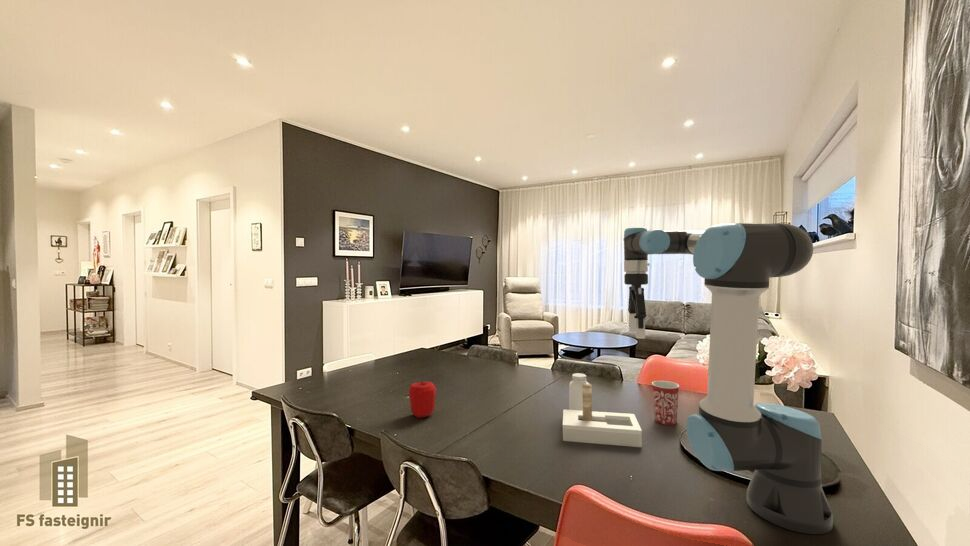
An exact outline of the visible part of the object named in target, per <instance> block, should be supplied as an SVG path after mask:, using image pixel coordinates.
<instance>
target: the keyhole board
mask: <svg viewBox="0 0 970 546" xmlns="http://www.w3.org/2000/svg"><path fill="white" fill-rule="evenodd" d="M562 415H563V416H562V441H563V442H572V443H573V442H574V443H583V444H584V443H586V444H595V445H596V444H597V445H609V446H610V445H611V446H619V447H620V446H623V447H633V448H643V435H642V433H643V430H642V428H641V426H640V424H639V421H638V419H637V417H636V415H635V413H624V412H623V413H622V412H612V411H611V412H608V411H593V410H592V421H583V411H580V410H569V409H565V408H564V409H563V412H562Z"/></svg>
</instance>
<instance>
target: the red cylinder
mask: <svg viewBox="0 0 970 546" xmlns="http://www.w3.org/2000/svg"><path fill="white" fill-rule="evenodd" d="M436 387H437V386H435V385H434V383H433V382H432V381H426V380H425V381H418V382H413V383H411V385H410V386H409V388H408V397H409V403H410V412H411V413H412V414H413V415H414V417H416V418H418V419H419V418H422V419H424V418H425V417H429V416H430V415H431V414H432V413H433V412H434V410H435V404H436V396H437V389H436Z"/></svg>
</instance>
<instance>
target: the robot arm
mask: <svg viewBox="0 0 970 546" xmlns="http://www.w3.org/2000/svg"><path fill="white" fill-rule="evenodd" d="M623 251H624V252H623V258H624V259H623V272H625V273H624V275H623V276H624V277H623V278H624V284H625V285H627V286H629V285H630V286H629V289H628V292H629V293H628V307H627V311H628V321H629V322H628V325H629V326H628V329H629V331H628V332H630V333H635V338H636V339H638V340H639V339H643V340H644V339H646V317H647V311H646V302H645V301H646V300H645V288H644V287H642V286H643V285H648V284H649V275H648V273H647V272H648V271H649V268H648V267H649V266H650V263H649V258H648V257H649V255H692V263H693V264H692V265H693V267H694V268H695V269H694V270H695V273H697V275H698V276H699V277H701V278H703V279H704V283H703V285H704V287H706V288H707V289H708V290H709V292H711V304H710V305H711V308H710V325H709V326H710V328H709V329H710V330H709V331H710V333H709V352H708V372H707V373H708V374H707V395H706V396H705V397H704V398H701V400H699V403H698V404H699V405H698V413H693V414H690V416H689V417H688V418H687V420H686V425H685V426H686V434H687V439H688V441H689V444H690V446H691V449H692V451H693V452H694V455H695V456H696V457H697V459H698V461H700V463H702V465H704V466H705V467H706V468H707V469H709V470H711V471H716V472H728V473H732V472H738V471H739V472H740V471H753V474H752V477H751V479H750V481H749V484H748V487H747V488H746V503H747V505H748V507H749V508H750V510H752V511H753V512H754V513H755V514H756V515H757V516H759V517H760V518H762V519H764V520H765V521H768V522H769V523H771V524H774V525H776V526H778V527H780V528H784V529H785V530H789V531H793V532H797V533H800V534H806V535H809V534H810V535H823V534H827V533H829V532H831V531H832V530H833V528H834V526H833V525H834V522H833V521H834V517H833V513H832V510H831V508H830V504H829V503H828V499H827V497H826V494H825V492H824V490H823V487H822V440H823V437H822V433H821V424H820V422H819V420H818V419H817V418H816V417H815V416H813V415H811V414H809V413H807V412H804V411H802V410H799V409H796V408H792V407H790V406H785V405H781V404H776V403H772V402H771V403H769V402H757V403H756V404H755V405H754V400H755V399H754V398H755V383H756V380H755V379H756V365H757V364H756V363H757V348H758V347H757V346H758V345H757V344H758V329H759V325H758V324H759V312H760V311H759V309H760V296H761V295H762V294H763V293H765V292H766V291H768V290H769V289H770V278H783V277H788V276H791V275H794V274H797V273H799V272H800V271H802V270H803V269H804V268H805V267H806V266H807V265H808V264H809V263H810V261H811V260H812V257H813V255H814V244H813V241H812V238H811V236H810V235H809V234H808V233H807V232H806V231H805V230H803V229H802V228H801V227H798V226H795V225H794V224H790V223H785V222H784V223H782V222H781V223H780V222H773V223H770V222H769V223H767V222H766V223H763V222H761V223H758V222H757V223H756V222H755V223H754V222H750V223H749V222H731V223H730V222H729V223H728V222H727V223H720V224H719V223H718V224H715V225H711V226H710V227H708V228H707V229H705V230H703V229H691V230H689V229H687V230H685V229H684V230H681V229H680V230H668V229H667V230H663V229H660V228H657V229H656V228H655V229H652V228H651V229H649V230H648V229H647V228H646V227H643V226H641V227H640V226H638V227H637V226H635V227H634V226H633V227H628V228H626V229H624V233H623Z"/></svg>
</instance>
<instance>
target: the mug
mask: <svg viewBox="0 0 970 546" xmlns="http://www.w3.org/2000/svg"><path fill="white" fill-rule="evenodd" d="M651 386H652V395H653V397H652V398H653V410H654V411H653V412H654V421H656V422H657V423H658V424H661V425H664V426H665V425H667V426H674V425H676V424H677V422H678V406H679V393H680V391H679V389H680V384H678V383H677V382H673V381H668V380H654V381H651Z"/></svg>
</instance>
